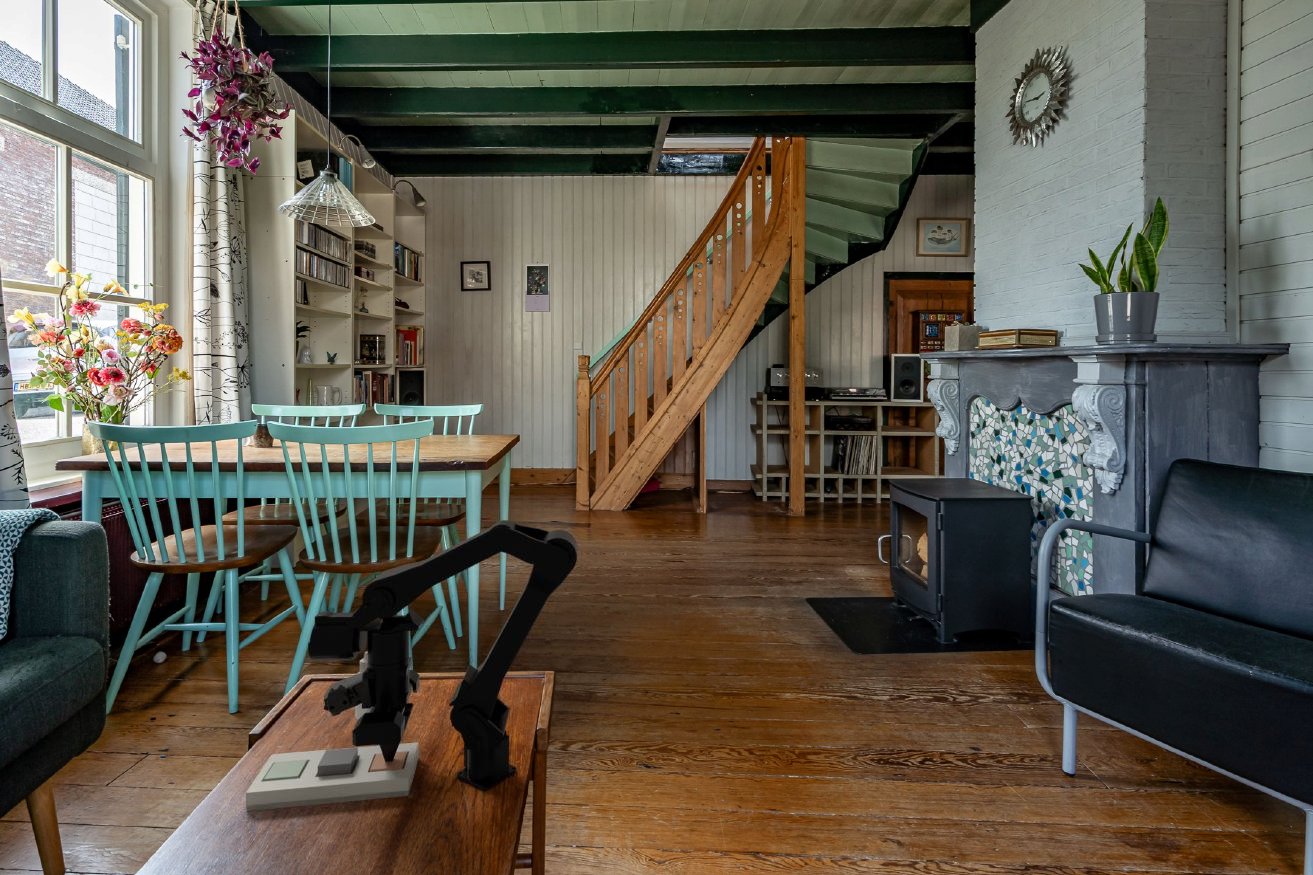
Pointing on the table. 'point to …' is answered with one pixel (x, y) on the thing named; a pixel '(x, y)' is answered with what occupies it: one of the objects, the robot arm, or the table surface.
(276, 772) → the sage key
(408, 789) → the keypad frame
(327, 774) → the charcoal key
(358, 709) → the eye dropper bottle
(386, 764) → the terracotta key
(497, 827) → the table surface
